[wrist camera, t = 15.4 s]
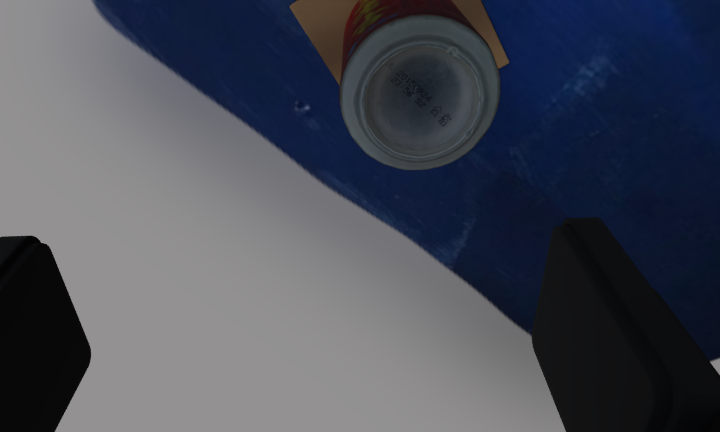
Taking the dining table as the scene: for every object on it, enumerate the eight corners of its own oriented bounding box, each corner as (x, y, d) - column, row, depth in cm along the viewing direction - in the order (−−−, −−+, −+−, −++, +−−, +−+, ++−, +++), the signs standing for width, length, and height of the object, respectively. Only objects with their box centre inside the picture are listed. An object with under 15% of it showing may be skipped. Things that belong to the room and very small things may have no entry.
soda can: (410, 112, 36) (432, 205, 25) (321, 48, 34) (305, 121, 23) (483, 22, 33) (541, 85, 22) (391, -54, 31) (408, -23, 20)
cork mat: (289, 5, 33) (288, 6, 32) (437, -94, 30) (438, -93, 30) (373, 136, 37) (373, 139, 37) (507, 60, 35) (509, 63, 34)
